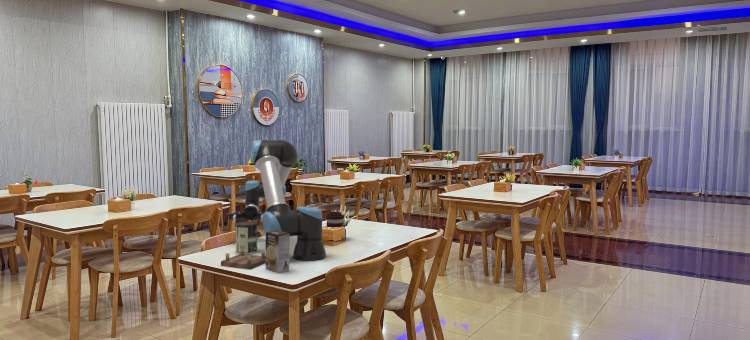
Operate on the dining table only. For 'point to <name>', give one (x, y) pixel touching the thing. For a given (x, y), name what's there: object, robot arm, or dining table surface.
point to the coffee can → (246, 237)
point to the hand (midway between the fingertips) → (247, 219)
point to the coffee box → (277, 251)
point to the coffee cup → (334, 219)
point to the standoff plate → (244, 260)
